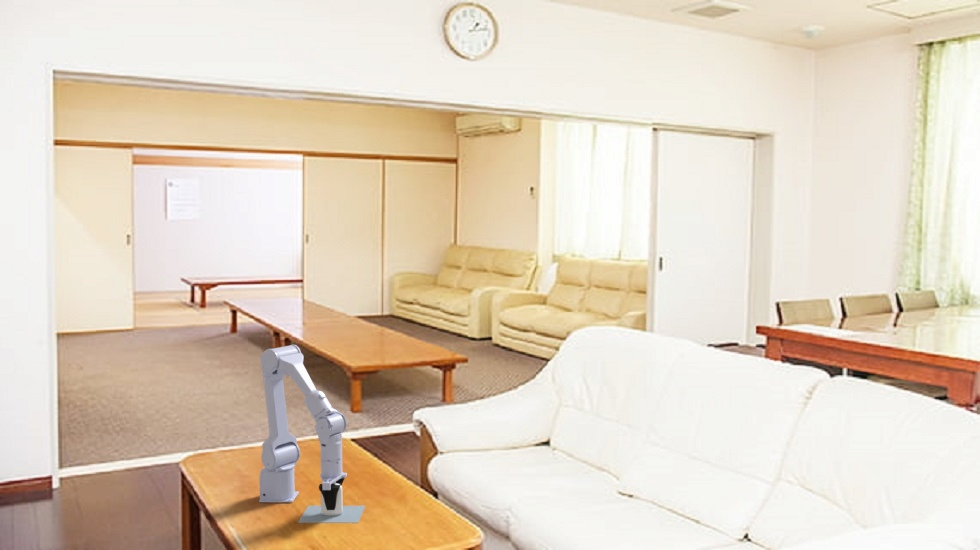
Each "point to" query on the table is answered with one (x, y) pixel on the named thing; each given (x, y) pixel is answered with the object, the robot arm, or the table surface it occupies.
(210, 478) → the table surface
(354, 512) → the mat
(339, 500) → the eye dropper bottle
